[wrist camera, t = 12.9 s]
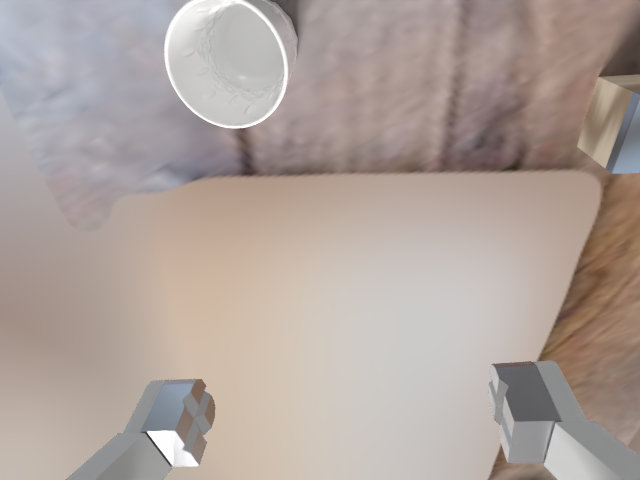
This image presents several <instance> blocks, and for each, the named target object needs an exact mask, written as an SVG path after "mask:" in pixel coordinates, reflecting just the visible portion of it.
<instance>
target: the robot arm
mask: <svg viewBox="0 0 640 480" xmlns="http://www.w3.org/2000/svg"><path fill="white" fill-rule="evenodd" d="M490 375H491V378H492V381H491V382H490V383H489V387H488V394H489V402H490V407H491V411H492V414H493V418H494V420H495V421H496V422H497V423H498V424H499V425H500V435H499V437H500V441H501V444H502V447H503V450H504V453H505V456H506V459H507V463H544V466H545V467H546V468H547V469H548V470H549V471H550V472H551V473H552V474H553V475H554V477H555V478H556V479H557V480H640V456H639V455H638V454H636V453H635V452H634V451H632V450H631V449H630V448H629V447H627V446H626V445H625V444H623V443H622V442H621V441H619V440H618V439H617V438H616V437H614V436H613V435H612V434H610V433H609V432H608V431H606V430H605V429H604V428H603V427H601V426H600V425H599V424H597V423H596V422H595V421H587V419H586V417H585V415H584V414H583V412H582V410H581V408H580V406H579V404H578V402H577V400H576V398H575V396H574V394H573V393H572V391H571V389H570V387H569V385H568V383H567V381H566V379H565V377H564V375H563V373H562V371H561V370H560V368H559V366H558V364H557V363H556V362H555V361H540V362H531V361H530V362H515V363H501V364H500V363H499V364H492V365H491V366H490ZM205 387H206V385H205V383H204V382H203V380H202V379H188V380H155V381H151V382H150V383H149V384H148V385H147V387H146V389H145V391H144V393H143V395H142V397H141V399H140V401H139V403H138V404H137V407H136V409H135V411H134V413H133V414H132V416H131V418H130V420H129V422H128V424H127V426H126V428H125V430H124V432H123V433H119V434H117V435H116V436H115V437H114V438H113V439H111V440H110V441H109V442H108V443H107V444H106V445H105V446H103V447H102V448H101V449H100V450H99V451H98V452H97V453H95V454H94V455H93V456H92V457H91V458H90V459H89V460H87V461H86V462H85V463H84V464H83V465H82V466H81V467H80V468H79V469H77V470H76V471H75V472H74V473H73V474H72V475H70V476H69V477H68V478H67V479H66V480H163V479H164V478H165V477H166V476H167V474H168V473H169V472H170V471H171V469H172V468H171V467H185V466H199V465H200V462H201V459H202V456H203V453H204V449H205V446H206V443H207V442H206V439H205V436H204V435H205V434H206V433H207V432H208V431H209V430H210V429H211V427H212V424H213V421H214V417H215V404H214V400H213V398H212V396H211V395H210V394H209V393H207V392H205V391H204V390H205Z"/></svg>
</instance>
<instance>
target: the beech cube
mask: <svg viewBox="0 0 640 480" xmlns="http://www.w3.org/2000/svg"><path fill="white" fill-rule="evenodd" d="M577 147H579V148H580V149H581V150H582V151H584V152H585V153H586V154H588V155H589V156H590V157H591V158H593V159H594V160H595V161H596V162H598V163H599V164H600V165H601V166H603V167H604V168H605V169H607V170H608V171H609V172H610V173H612V174H619V173H640V74H638V75H622V76H605V77H598V79H597V83H596V86H595V89H594V92H593V96H592V99H591V102H590V106H589V109H588V112H587V115H586V119H585V122H584V125H583V129H582V132H581V135H580V138H579V142H578V145H577Z"/></svg>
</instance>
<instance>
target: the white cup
mask: <svg viewBox="0 0 640 480" xmlns="http://www.w3.org/2000/svg"><path fill="white" fill-rule="evenodd" d="M297 44H298V37H297V35H296V32H295V29H294V26H293V23H292V21H291V18H290V17H289V16H288V15H287V14H286V13H285V12H284V11H283V10H282V9H281V8H280V6H279V5H278V4H277V3H275V2H272V1H269V0H190V1H189V2H187V3H186V4H185V5H184V6H182V7H181V8H180V9H179V10H178V12H177V13H176V14H175V16H174V17H173V19H172V21H171V23H170V25H169V27H168V30H167V33H166V38H165V45H164V56H165V64H166V69H167V72H168V76H169V78H170V81H171V83H172V85H173V87H174V89H175V91H176V92H177V94H178V95H179V97H180V98H181V100H182V101H183V102H184V103H185V104H186V105H187V106H188V107H189V108H190V109H191V110H192V111H193V112H194V113H195V114H197V115H198V116H199V117H201V118H202V119H204V120H206V121H208V122H210V123H212V124H215V125H218V126H222V127H227V128H244V127H249V126H252V125H255V124H257V123H259V122H261V121H263V120H264V119H266V118H267V117H268V116H270V115H271V114H272V113H273V112H274V110H275V109H276V108H277V107H278V105H279V103H280V102H281V100H282V98H283V96H284V93H285V90H286V88H287V86H288V83H289V81H290V79H291V76H292V73H293V69H294V66H295V61H296V59H297Z"/></svg>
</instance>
